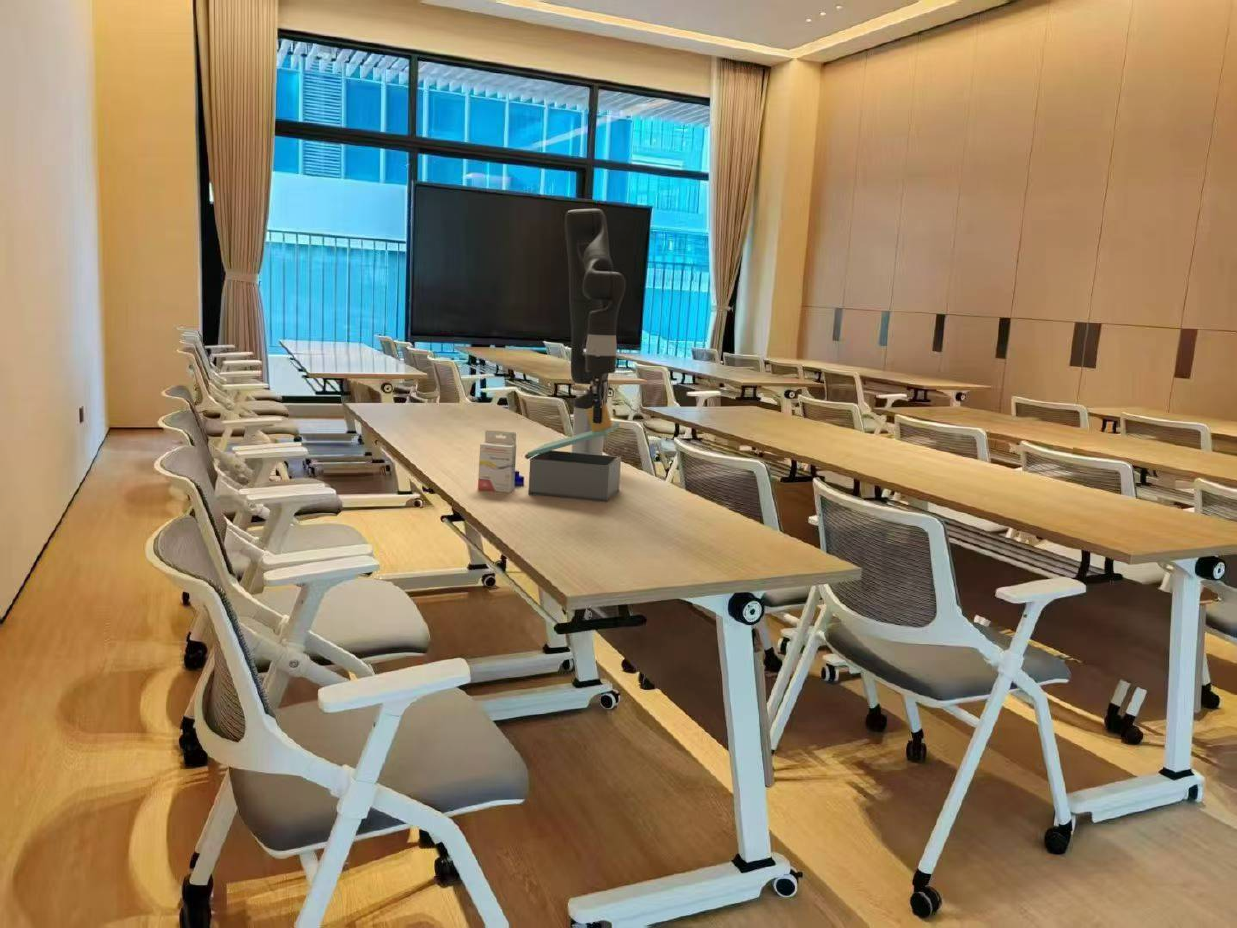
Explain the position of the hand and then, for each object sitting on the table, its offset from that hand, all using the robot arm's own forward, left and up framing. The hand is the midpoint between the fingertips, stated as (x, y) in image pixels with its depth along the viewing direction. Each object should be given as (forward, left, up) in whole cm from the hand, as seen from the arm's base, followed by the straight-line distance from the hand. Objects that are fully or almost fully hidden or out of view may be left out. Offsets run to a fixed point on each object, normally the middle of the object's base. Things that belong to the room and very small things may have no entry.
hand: (598, 422), depth 236 cm
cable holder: (-4, -23, -19) cm, 30 cm away
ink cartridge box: (+6, -24, -19) cm, 31 cm away
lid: (0, -16, -9) cm, 18 cm away
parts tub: (0, -5, -19) cm, 19 cm away
